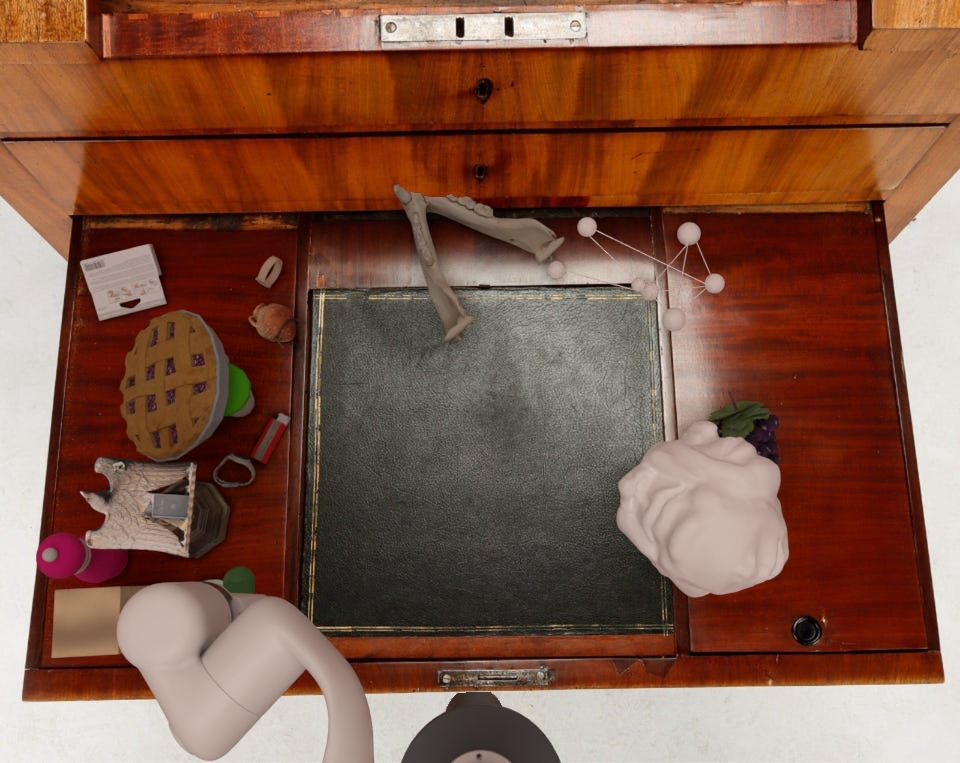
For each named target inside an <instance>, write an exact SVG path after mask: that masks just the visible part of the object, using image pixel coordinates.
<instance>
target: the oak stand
mask: <svg viewBox="0 0 960 763" xmlns="http://www.w3.org/2000/svg"><path fill="white" fill-rule="evenodd" d="M147 586H148V585H123V586H120V585H119V586H118V585H117V586H103V587H85V588H83V587H82V588H68V589H67V588H65V589H64V588H63V589H62V588H61V589H55V590H54V601H53V617H52V618H53V619H52V622H53V623H52V640H51V642H52V643H51V659H56V658H57V659H59V658H61V659H62V658H78V657H94V656H96V657H97V656H112V655H123V654H122V652H121V650H120V647H119V644H118V641H117V633H116V632H117V622H118V619H119V615H120V613H121V611H122V609H123V607H124V606H125V604H126V603H127V601H128V600H129V599H130V598H131V597H132V596H133V595H134V594H136V593H137V592H138V591H140V590H141V589H143V588H145V587H147Z"/></svg>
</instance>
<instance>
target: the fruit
mask: <svg viewBox="0 0 960 763" xmlns="http://www.w3.org/2000/svg"><path fill="white" fill-rule="evenodd" d="M727 394H728V396H729V398H730V400H731V402H729V403H728V404H726V405H724V406H723V407H721V408H720V409H718V410H714V411H713V412H711V413H709V414H708V415H706V416H708V419H707V420H706V421H710V422H712V423H714V424H715V425H716V426H717V427H718V429H717V433H718V436H719V438H725V437H735V438H737V437H742V438H744V440H746V441H747V442H748V443H750V444H751V445H753V446H754V447H755V449H756V451H757V455H759V456H762V457H765V458H768V459H770V460H771V461H772V462H774V463H775V464H776V465H777V466H778V465H779V464H780V463H781V458H780V455H778V451H779V445H778V442H777V441H775V440H776V438H777V434H776V431H775V430H777V429H778V428H779V427H780V425H781V419H780V418H779V417H778V416H777V415H776V414H772V412H771V411H770V410H771V408H769V407H768V408H767V407H765V403H764V402H759V401H758V400H757V401H752V400H746V399H743V400H741V401H739V400H738V401H735V399H734V397H733V394H732V393H731V391H727Z"/></svg>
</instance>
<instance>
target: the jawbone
mask: <svg viewBox="0 0 960 763" xmlns="http://www.w3.org/2000/svg"><path fill="white" fill-rule="evenodd" d="M399 185H400V184H397V185H396V184H394V185H393V193H394V195H395V196H396V197H397V199H398V200H399V201H400V203H401V205H402V207H403V209H404V211H405V214H406V216H407V218H408V220H409V221H410V224H411V228H412V234H413V239H414V244H415V248H416V252H417V256H418V260H419V263H420V267H421V269H422V273H423V277H424V280H425V282H426V285H427V289H428V292H429V296H430V299H431V301H432V304H433V306H434V308H435V310H436V312H437V315H438V316H439V319H440V321H441V323H442V326H443V328H444V330H445V333H444V334H445V335H444V337H443V341H445V342H449V341H453V342H454V343H459V342H461V341H463V335H462V333H461V332H463V330H465V329H466V328H467V327H468V326H469V325H471V324H472V323H473V322H474V320H475V317H474V316H471V315H469V314H467V313H466V312H465V309H464V308H463V306H462V304H461V303H460V301H459V299H458V298H457V295H456V294H455V292H454V291H453V289H452V287H451V286H450V284H449V283H448V281H447V279H446V278H445V275H444V273H443V271H442V269H441V264H440V261H439V258H438V255H437V252H436V249H435V245H434V242H433V239H432V235H431V232H430V229H429V224H428V220H427V213H434V214H438V215H441V216H443V217H446V218H448V219H450V220H453V221H455V222H457V223H459V224H461V225H463V226H466V227H468V228H470V229H473V230H475V231H478V232H480V233H482V234H484V235H487V236H489V237H492V238H494V239H498V240H501V241H503V242H506V243H509V244H511V245H513V246H515V247H518V248H520V249H522V250H524V251H525V252H528V253H530V254H533V255H534V256H535V259H536V260H535V261H536V262H537V265H541V264H542V263H544V262H546V263H551V262H552V261H554V256H553V255H552V254H553V253H554V252H556V251H557V249H559V248H560V246H561V245H562V244H563V243H564V241H565V237H564V236H561V237H559V238H557V235H556V233H555V231H553V229H550V228H549V227H547V226H546V225H545V224H543V223H542V222H540V221H538V220H537V219H535V218H529V217H527V218H526V217H525V218H506V217H505V218H504V217H502V218H501V217H496V216H495V215H494V209H493V208H491V207H490V206H488V205H486V204H482V203H479V202H478V203H477V201H475V200H473V199H472V198H471V197H470V196H460V197H459V196H458V197H459V198H458V197H454V196H453V195H452V194H450V195H447V196H446V197H447V198H446V197H427V196H424V195H423V194H421V193H414V192H408V191H407V190H405V189H404V188H402V187H400V186H399Z"/></svg>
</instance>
